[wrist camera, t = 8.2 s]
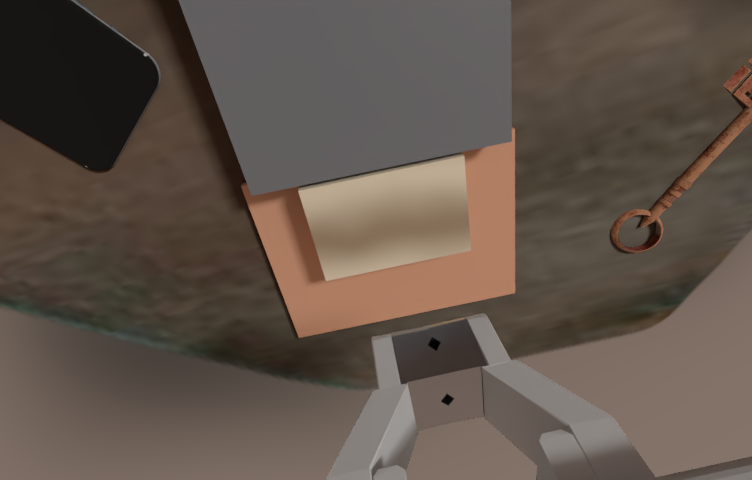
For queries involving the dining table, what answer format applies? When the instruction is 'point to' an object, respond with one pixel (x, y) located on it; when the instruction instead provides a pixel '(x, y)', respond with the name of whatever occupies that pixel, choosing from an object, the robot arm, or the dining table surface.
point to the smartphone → (72, 79)
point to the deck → (353, 82)
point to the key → (693, 165)
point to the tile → (389, 216)
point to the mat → (401, 283)
